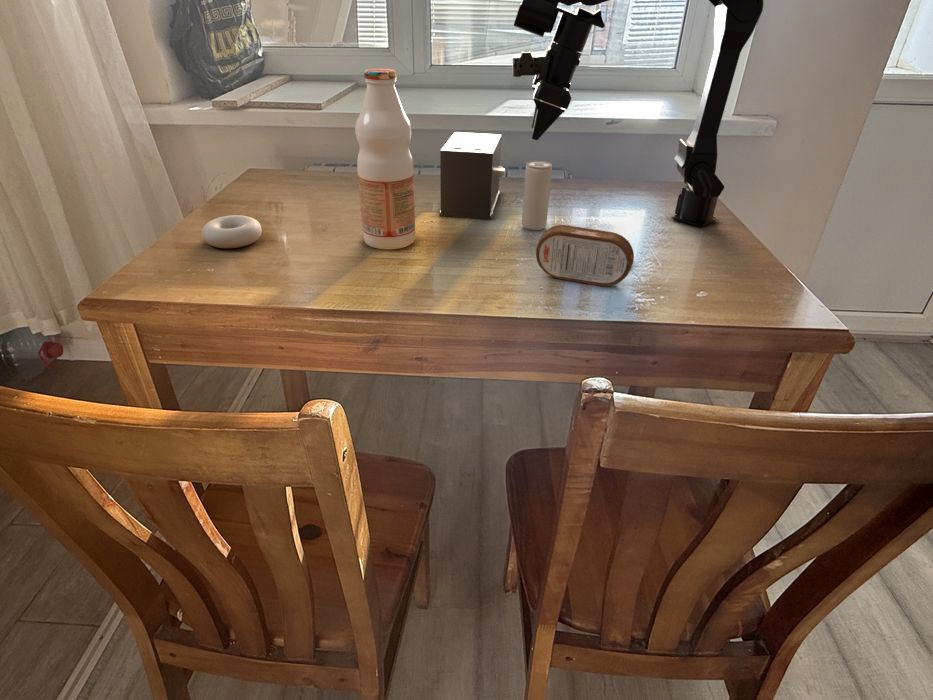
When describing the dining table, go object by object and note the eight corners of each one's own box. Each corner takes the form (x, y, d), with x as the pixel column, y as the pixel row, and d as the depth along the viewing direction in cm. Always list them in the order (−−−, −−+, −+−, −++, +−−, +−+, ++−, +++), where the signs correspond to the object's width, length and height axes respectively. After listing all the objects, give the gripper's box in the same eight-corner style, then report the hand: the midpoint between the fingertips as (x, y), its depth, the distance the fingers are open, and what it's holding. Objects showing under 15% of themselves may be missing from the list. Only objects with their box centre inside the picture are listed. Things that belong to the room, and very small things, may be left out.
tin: (629, 283, 92) (638, 233, 87) (627, 292, 89) (636, 240, 85) (536, 269, 96) (540, 220, 91) (531, 276, 93) (536, 226, 89)
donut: (235, 256, 98) (275, 235, 106) (231, 237, 96) (271, 217, 104) (191, 245, 101) (233, 226, 109) (186, 227, 100) (229, 208, 107)
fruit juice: (360, 250, 101) (345, 73, 86) (366, 230, 109) (353, 65, 93) (414, 250, 101) (408, 74, 86) (416, 231, 109) (411, 66, 94)
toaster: (508, 194, 128) (511, 134, 121) (500, 220, 115) (504, 153, 108) (453, 191, 130) (453, 130, 123) (439, 216, 116) (439, 149, 109)
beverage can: (547, 231, 110) (553, 167, 104) (522, 230, 110) (526, 167, 104) (545, 222, 114) (551, 160, 108) (520, 221, 114) (525, 160, 108)
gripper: (524, 26, 109) (496, 110, 118) (523, 34, 94) (491, 130, 102) (579, 47, 111) (547, 128, 119) (587, 59, 95) (550, 151, 103)
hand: (534, 133), depth 111 cm, fingers open, 9 cm apart
